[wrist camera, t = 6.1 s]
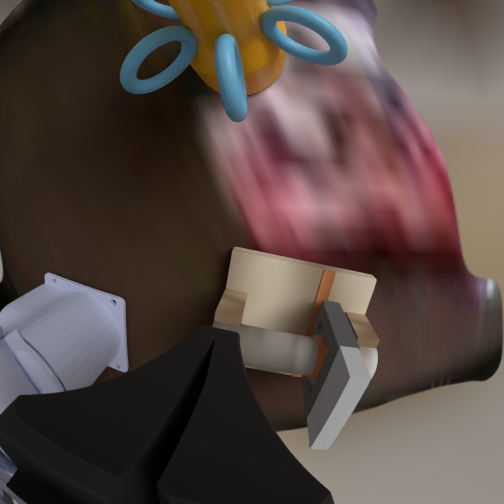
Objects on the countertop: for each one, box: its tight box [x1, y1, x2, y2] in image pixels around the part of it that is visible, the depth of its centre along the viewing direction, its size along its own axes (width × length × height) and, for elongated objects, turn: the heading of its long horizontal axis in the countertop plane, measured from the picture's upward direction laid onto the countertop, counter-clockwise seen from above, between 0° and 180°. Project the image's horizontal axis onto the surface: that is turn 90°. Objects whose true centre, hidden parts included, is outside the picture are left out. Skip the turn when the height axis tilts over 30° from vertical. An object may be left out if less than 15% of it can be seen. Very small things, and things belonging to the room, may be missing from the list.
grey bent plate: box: [302, 300, 371, 450], centre depth 14 cm, size 1×5×8 cm, turn 169°
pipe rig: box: [212, 247, 379, 379], centre depth 17 cm, size 10×9×6 cm
